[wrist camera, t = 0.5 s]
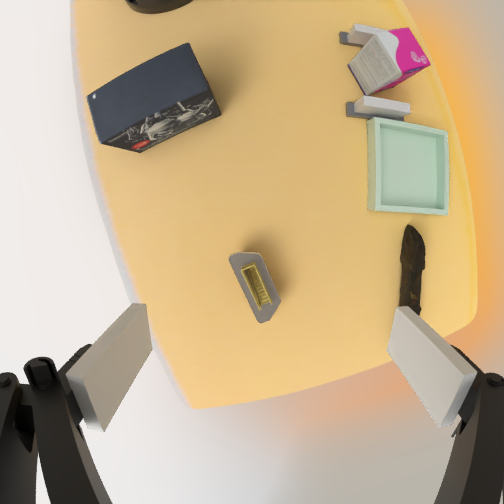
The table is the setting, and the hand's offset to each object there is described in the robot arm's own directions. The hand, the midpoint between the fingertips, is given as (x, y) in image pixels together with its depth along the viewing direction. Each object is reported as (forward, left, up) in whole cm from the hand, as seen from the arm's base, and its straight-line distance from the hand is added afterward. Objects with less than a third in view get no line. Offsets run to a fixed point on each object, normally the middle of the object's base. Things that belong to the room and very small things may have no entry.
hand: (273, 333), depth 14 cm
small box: (-18, -13, -27) cm, 35 cm away
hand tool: (+7, +22, -27) cm, 36 cm away
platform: (+5, -1, -27) cm, 28 cm away
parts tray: (-11, +21, -27) cm, 36 cm away
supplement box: (-25, +16, -27) cm, 40 cm away
